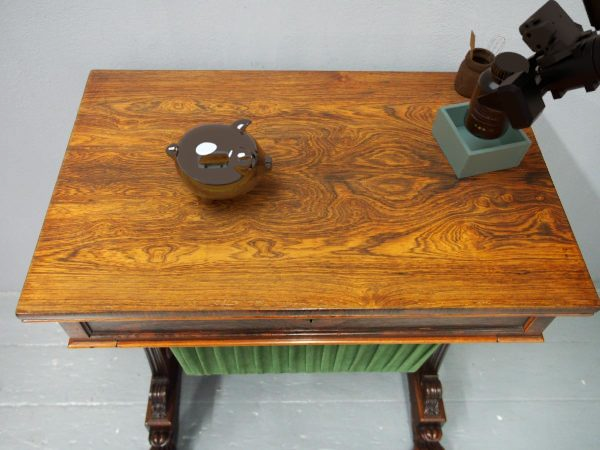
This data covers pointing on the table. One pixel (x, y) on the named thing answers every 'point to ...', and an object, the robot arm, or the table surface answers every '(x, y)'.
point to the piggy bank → (220, 160)
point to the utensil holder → (473, 67)
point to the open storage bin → (476, 144)
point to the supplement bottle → (480, 117)
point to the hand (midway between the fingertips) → (490, 88)
